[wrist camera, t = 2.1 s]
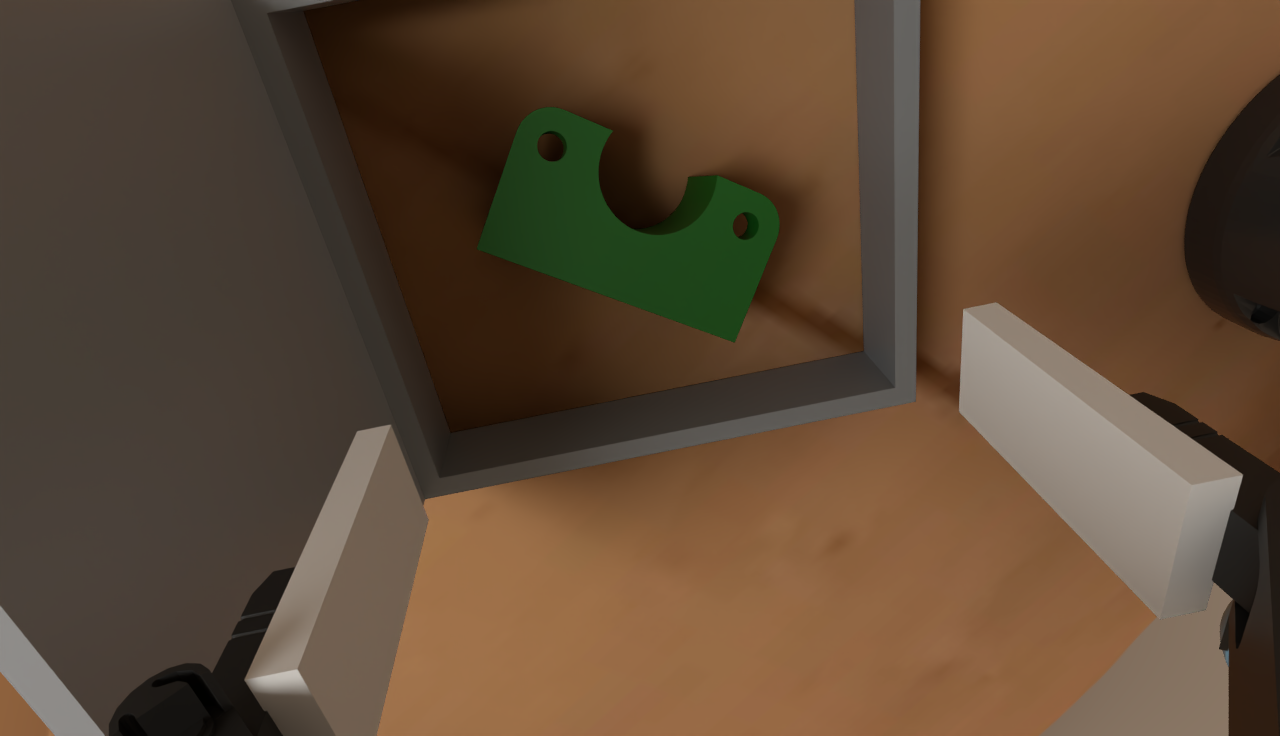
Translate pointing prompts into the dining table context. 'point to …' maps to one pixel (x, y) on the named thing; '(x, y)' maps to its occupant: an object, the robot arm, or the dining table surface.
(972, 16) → the dining table surface
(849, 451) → the dining table surface
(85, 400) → the case
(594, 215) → the clamp
